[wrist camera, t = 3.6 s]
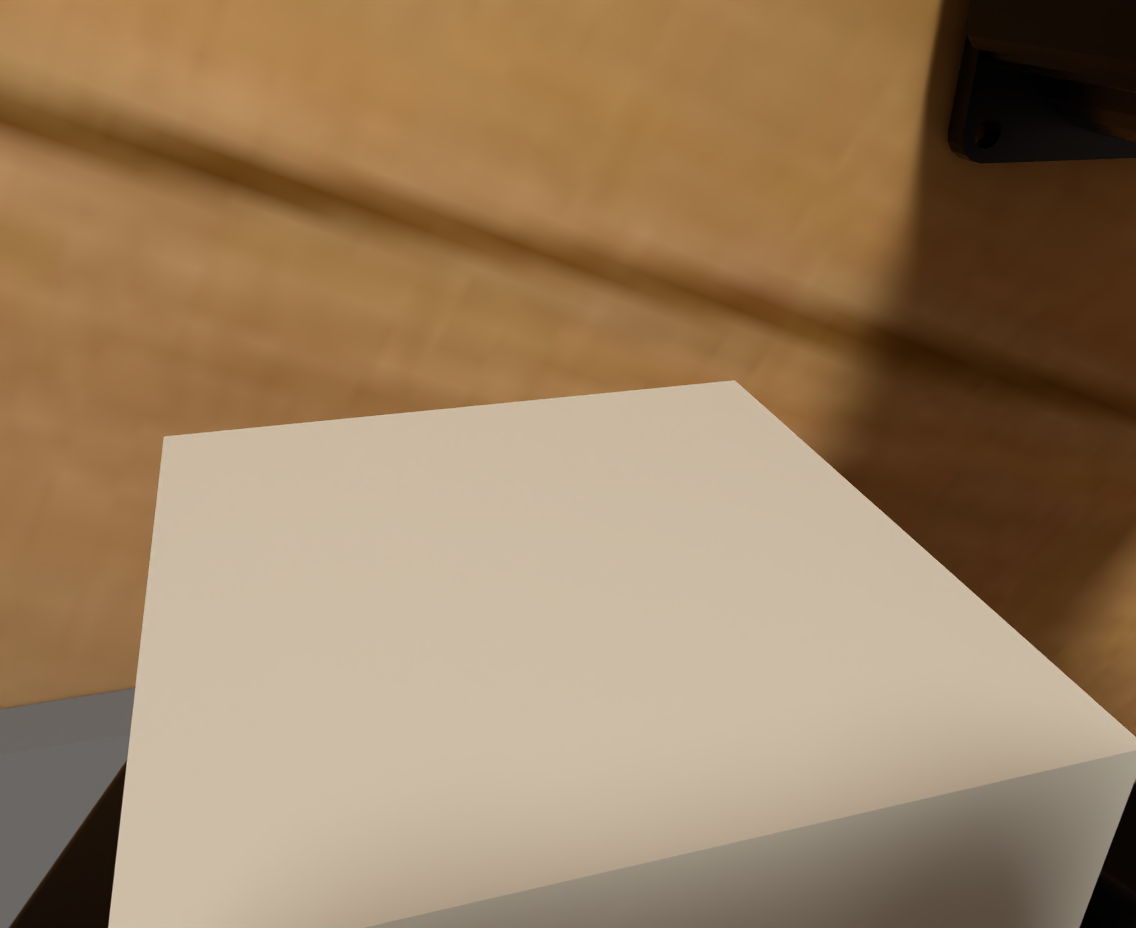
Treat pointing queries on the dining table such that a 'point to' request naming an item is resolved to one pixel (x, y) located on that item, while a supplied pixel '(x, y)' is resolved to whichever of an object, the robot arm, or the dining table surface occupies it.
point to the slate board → (53, 781)
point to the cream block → (585, 688)
